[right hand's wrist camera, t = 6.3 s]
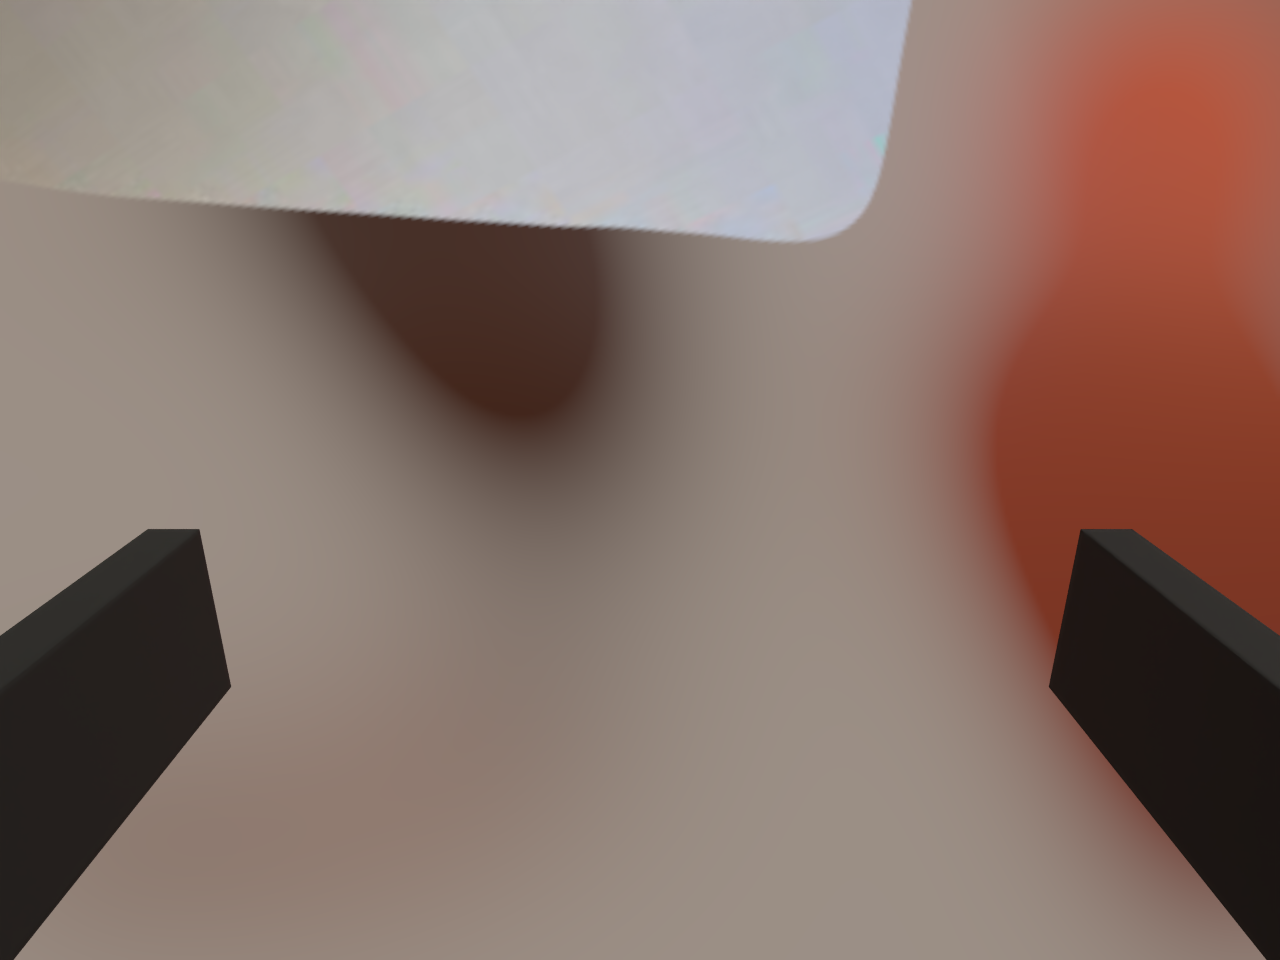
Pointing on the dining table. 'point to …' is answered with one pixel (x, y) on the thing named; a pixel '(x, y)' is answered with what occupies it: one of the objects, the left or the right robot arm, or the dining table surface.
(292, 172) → the dining table surface
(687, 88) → the dining table surface
